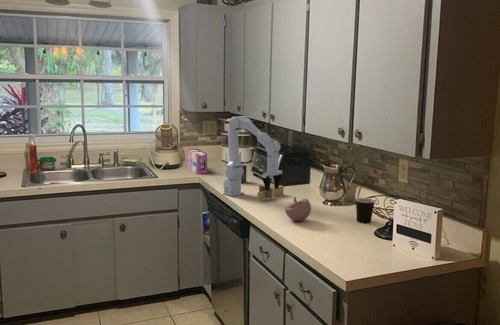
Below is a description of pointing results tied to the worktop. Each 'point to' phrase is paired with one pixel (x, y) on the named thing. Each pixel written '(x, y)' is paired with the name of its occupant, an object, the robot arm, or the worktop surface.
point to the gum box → (197, 161)
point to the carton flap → (265, 194)
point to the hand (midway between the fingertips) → (272, 189)
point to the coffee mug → (364, 209)
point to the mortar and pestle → (298, 210)
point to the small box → (244, 174)
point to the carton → (277, 191)
